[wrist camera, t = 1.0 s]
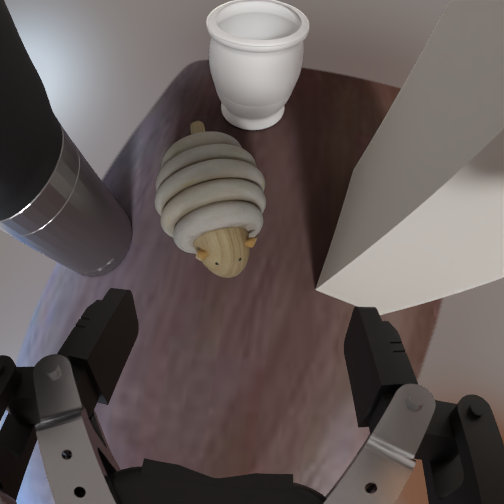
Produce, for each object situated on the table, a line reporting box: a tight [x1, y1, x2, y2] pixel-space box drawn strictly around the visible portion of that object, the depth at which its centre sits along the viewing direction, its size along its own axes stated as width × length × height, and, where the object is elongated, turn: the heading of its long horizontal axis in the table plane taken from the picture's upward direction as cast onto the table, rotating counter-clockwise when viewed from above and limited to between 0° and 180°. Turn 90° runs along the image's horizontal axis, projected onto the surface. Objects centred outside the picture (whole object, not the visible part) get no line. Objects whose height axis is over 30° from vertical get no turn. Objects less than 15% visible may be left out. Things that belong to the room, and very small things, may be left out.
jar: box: [206, 0, 309, 130], centre depth 33 cm, size 11×10×15 cm
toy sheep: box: [155, 121, 266, 278], centre depth 30 cm, size 11×17×11 cm, turn 19°
